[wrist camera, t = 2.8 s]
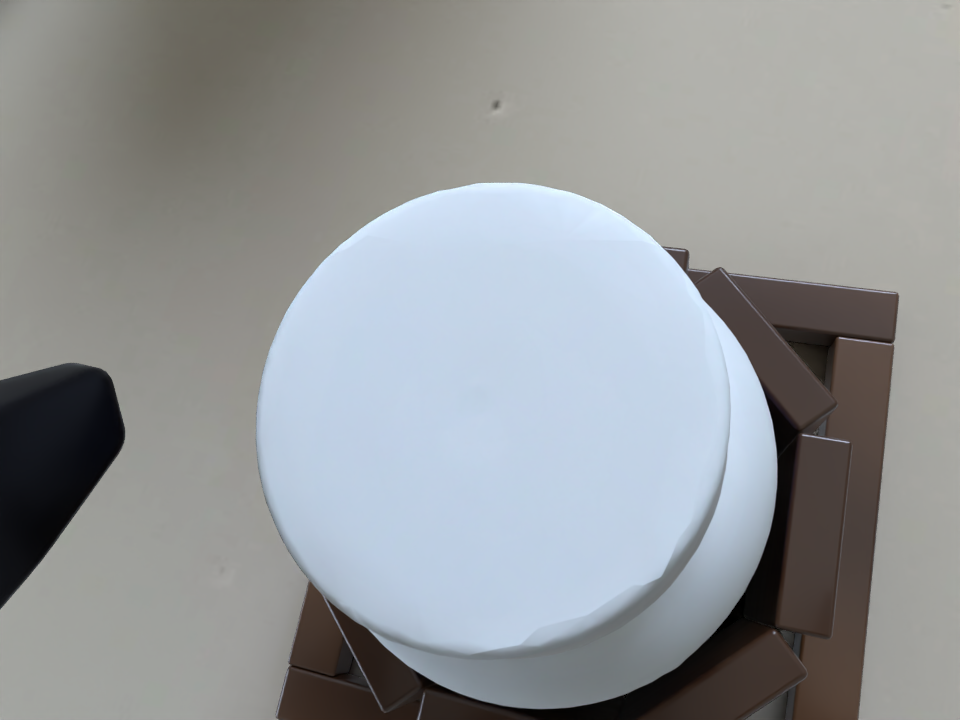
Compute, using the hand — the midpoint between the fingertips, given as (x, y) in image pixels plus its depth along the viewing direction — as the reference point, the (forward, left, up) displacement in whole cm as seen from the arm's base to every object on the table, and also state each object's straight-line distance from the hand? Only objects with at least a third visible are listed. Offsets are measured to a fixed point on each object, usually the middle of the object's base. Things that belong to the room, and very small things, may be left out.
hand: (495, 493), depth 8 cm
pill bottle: (+1, 0, -8) cm, 9 cm away
